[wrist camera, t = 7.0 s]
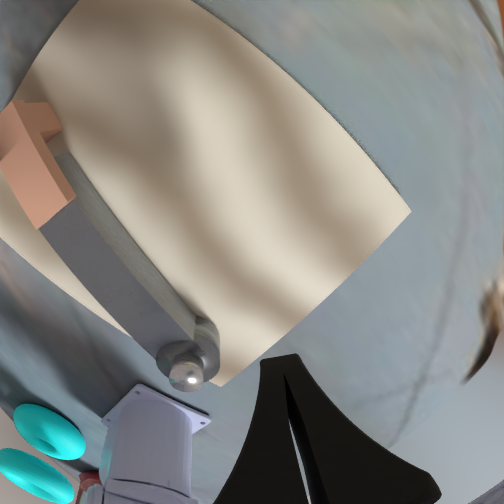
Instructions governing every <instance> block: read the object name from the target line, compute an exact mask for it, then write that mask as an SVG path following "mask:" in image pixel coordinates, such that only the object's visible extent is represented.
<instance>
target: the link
mask: <svg viewBox="0 0 504 504" xmlns="http://www.w3.org/2000/svg"><path fill="white" fill-rule="evenodd" d="M54 159H55V161H56V163H57V164H58V166H59V168H60V169H61V171H62V173H63V174H64V176H65V178H66V179H67V181H68V183H69V184H70V186H71V187H72V189H73V191H74V192H75V194H76V195H77V196H76V197H75V198H74V199H73V200H71V201H70V202H69V203H68V204H67V205H66V206H64V207H63V208H62V209H61V210H60V211H59V212H57V213H56V214H55V215H54V216H53V217H52V218H51V219H50V220H48V221H47V222H46V223H45V224H44V225H42V226H41V227H40V228H38V229H39V231H40V232H41V233H42V235H43V236H44V237H45V239H46V240H47V241H48V243H49V244H50V245H51V247H52V248H53V249H54V251H55V252H56V253H57V254H58V256H59V257H60V258H61V259H62V261H63V262H64V263H65V264H66V266H67V267H68V268H69V269H70V270H71V272H72V273H73V274H74V275H75V276H76V278H77V279H78V280H79V281H80V282H81V283H82V285H83V286H84V287H85V288H86V289H87V290H88V291H89V293H90V294H91V295H92V296H93V297H94V298H95V299H96V300H97V301H98V303H99V304H100V305H101V306H102V307H103V308H104V309H105V310H106V311H107V312H108V313H109V314H110V315H111V316H112V317H113V319H114V320H115V321H116V322H117V323H118V324H119V325H120V326H121V327H122V328H123V329H124V330H125V331H126V332H127V333H128V334H129V335H130V336H131V337H132V338H133V339H134V340H135V341H136V342H137V343H138V344H140V345H141V346H142V347H143V348H144V349H145V350H146V351H147V352H148V353H149V354H150V355H151V356H152V357H153V358H154V359H156V364H157V366H158V368H159V370H160V371H161V372H162V373H163V374H164V375H165V376H166V377H168V378H169V382H170V384H171V385H172V386H173V387H174V388H175V389H177V390H179V391H183V392H194V391H197V390H199V389H200V388H201V387H202V386H203V383H204V382H207V381H209V380H211V379H212V378H213V377H215V376H216V374H217V373H218V371H219V369H220V335H219V332H218V330H217V328H216V327H215V325H214V324H213V323H212V322H210V321H209V320H207V319H205V318H203V317H201V316H197V315H196V314H195V313H194V312H193V311H192V310H191V309H190V308H189V307H188V305H187V304H186V303H185V302H184V301H183V300H182V299H181V298H180V296H179V295H178V294H177V293H176V292H175V291H174V289H173V288H172V287H171V286H170V285H169V284H168V282H167V281H166V280H165V279H164V278H163V277H162V275H161V274H160V273H159V272H158V271H157V269H156V268H155V267H154V266H153V264H152V263H151V262H150V261H149V260H148V258H147V257H146V256H145V255H144V253H143V252H142V251H141V250H140V248H139V247H138V246H137V245H136V243H135V242H134V241H133V240H132V238H131V237H130V236H129V235H128V233H127V232H126V231H125V229H124V228H123V227H122V226H121V224H120V223H119V222H118V220H117V219H116V218H115V216H114V215H113V214H112V212H111V211H110V210H109V208H108V207H107V206H106V204H105V203H104V202H103V200H102V199H101V197H100V196H99V195H98V193H97V192H96V191H95V189H94V188H93V186H92V185H91V184H90V182H89V181H88V179H87V178H86V176H85V175H84V174H83V172H82V171H81V169H80V168H79V166H78V165H77V163H76V162H75V160H74V159H73V157H72V156H71V154H70V153H69V152H67V153H64V154H61V155H57V156H54Z"/></svg>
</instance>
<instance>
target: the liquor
mask: <svg viewBox="0 0 504 504" xmlns="http://www.w3.org/2000/svg"><path fill="white" fill-rule="evenodd" d="M79 477H80V480H81V482H80V486H79V491H78V495H77V500H76V503H75V504H84V501H85V497H86V493H87V489H88V487H90V486H94V484H99V485H102V483H101V480H100V476H99V472H97V471H88V472H85V473H82V474H80V475H79ZM102 486H103V485H102Z"/></svg>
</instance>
